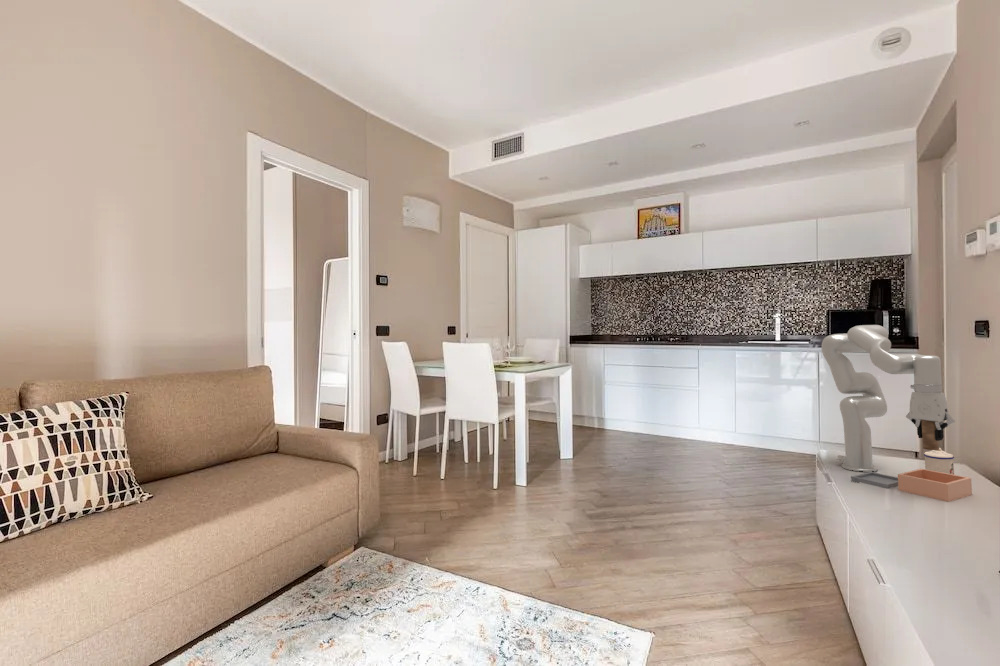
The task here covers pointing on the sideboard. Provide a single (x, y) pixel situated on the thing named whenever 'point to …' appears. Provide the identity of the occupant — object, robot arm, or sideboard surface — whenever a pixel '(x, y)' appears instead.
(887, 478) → the grey tray
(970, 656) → the sideboard surface
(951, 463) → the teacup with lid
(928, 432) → the walnut dowel
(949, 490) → the terracotta open box
